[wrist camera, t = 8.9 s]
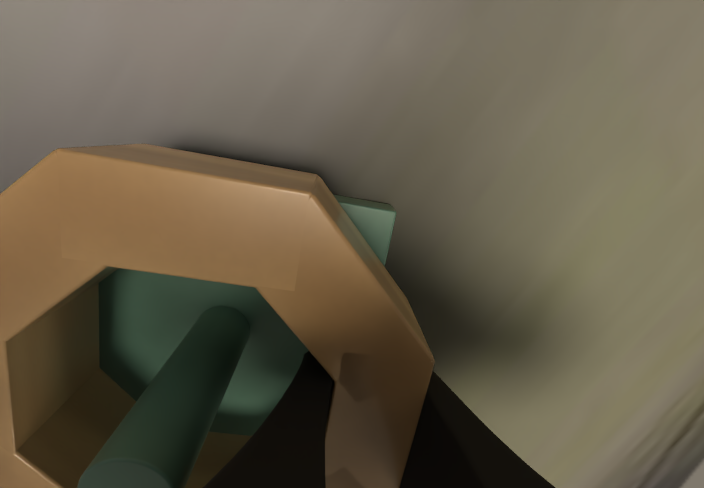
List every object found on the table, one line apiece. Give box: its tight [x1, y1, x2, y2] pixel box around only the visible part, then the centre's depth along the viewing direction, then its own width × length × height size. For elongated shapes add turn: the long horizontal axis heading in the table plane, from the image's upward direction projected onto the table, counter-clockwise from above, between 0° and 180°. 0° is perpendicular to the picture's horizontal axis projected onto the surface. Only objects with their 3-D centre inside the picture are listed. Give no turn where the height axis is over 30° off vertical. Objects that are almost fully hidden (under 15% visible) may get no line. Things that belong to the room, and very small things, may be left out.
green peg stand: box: [77, 195, 396, 488], centre depth 9 cm, size 9×9×7 cm
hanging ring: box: [0, 144, 435, 488], centre depth 9 cm, size 10×10×3 cm
